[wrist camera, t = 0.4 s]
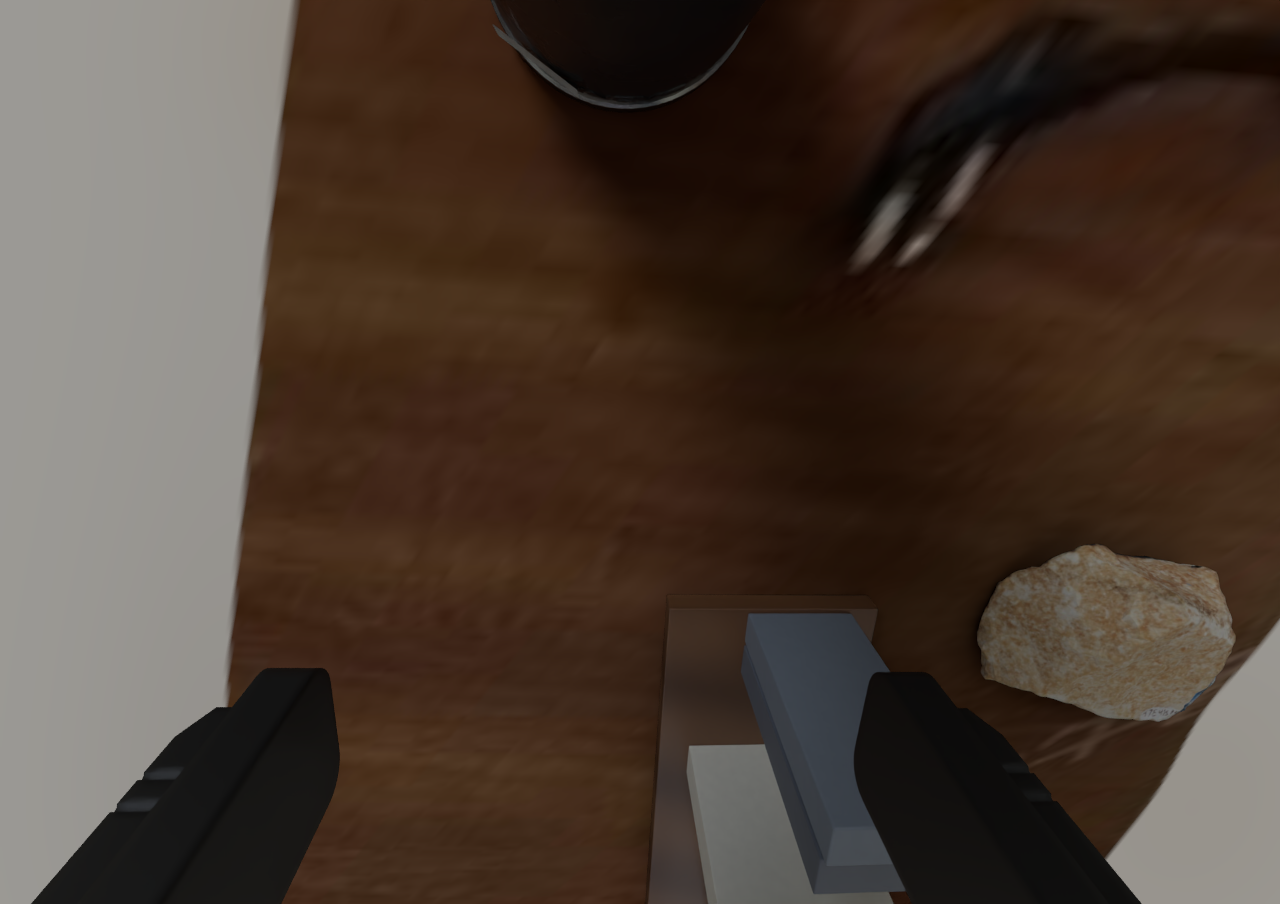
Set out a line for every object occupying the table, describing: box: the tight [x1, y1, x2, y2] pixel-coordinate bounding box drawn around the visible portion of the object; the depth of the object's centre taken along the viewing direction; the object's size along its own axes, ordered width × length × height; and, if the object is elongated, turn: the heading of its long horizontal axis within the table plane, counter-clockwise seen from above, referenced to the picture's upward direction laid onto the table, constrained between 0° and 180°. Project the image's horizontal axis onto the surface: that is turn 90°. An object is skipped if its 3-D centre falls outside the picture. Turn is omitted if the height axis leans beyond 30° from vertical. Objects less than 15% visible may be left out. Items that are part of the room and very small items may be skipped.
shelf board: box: [645, 595, 878, 904], centre depth 33 cm, size 22×10×1 cm, turn 177°
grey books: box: [741, 613, 906, 894], centre depth 24 cm, size 3×5×11 cm
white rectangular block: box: [687, 744, 893, 904], centre depth 26 cm, size 2×7×11 cm, turn 88°
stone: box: [977, 544, 1236, 722], centre depth 29 cm, size 8×10×4 cm
